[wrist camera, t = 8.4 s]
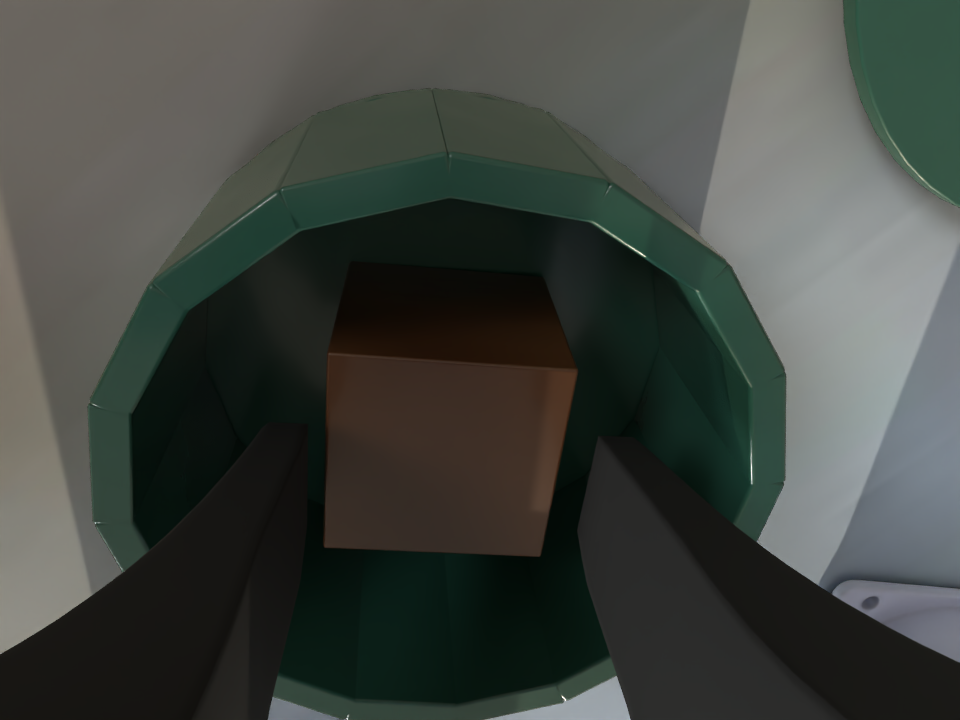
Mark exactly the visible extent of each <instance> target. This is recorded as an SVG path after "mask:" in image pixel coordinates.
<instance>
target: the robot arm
mask: <svg viewBox="0 0 960 720" xmlns="http://www.w3.org/2000/svg"><path fill="white" fill-rule="evenodd" d="M307 491H308V424H300V423H275V422H269V423H267V424H266V425H265V426H263V427H262V428H261V430H260V431H259V432H258V434H257V435H256V436H255V438H254V439H253V440H252V442H251V443H250V444H249V446H248V447H247V448H246V450H245V451H244V452H243V453H242V455H241V456H240V457H239V458H238V459H237V461H236V462H235V463H234V464H233V465H232V467H231V468H230V469H229V470H228V471H227V473H226V474H225V475H224V476H223V477H222V478H221V479H220V480H219V481H218V483H217V484H216V485H215V486H214V487H213V488H212V489H211V490H210V491H209V493H208V494H207V495H206V496H205V497H204V498H203V499H202V500H201V501H200V502H199V503H198V504H197V505H196V506H195V507H194V508H193V509H192V510H191V511H190V512H189V513H188V514H187V515H186V516H185V517H184V518H183V519H182V520H181V521H180V522H179V523H178V524H177V525H176V526H175V527H174V528H173V529H172V530H171V531H170V532H169V533H168V534H167V535H166V536H165V537H164V538H163V539H161V540H160V541H159V542H158V543H157V544H156V545H155V546H154V547H152V548H151V549H150V550H149V551H148V552H147V553H146V554H144V555H143V556H142V557H141V558H140V559H139V560H137V561H136V562H135V563H134V564H132V565H131V566H130V567H129V568H128V569H126V570H125V571H124V572H123V573H121V574H120V575H119V576H118V577H116V578H115V579H114V580H113V581H111V582H110V583H109V584H107V585H106V586H104V587H103V588H102V589H100V590H99V591H98V592H96V593H95V594H94V595H92V596H91V597H89V598H88V599H86V600H85V601H84V602H82V603H81V604H79V605H78V606H76V607H75V608H74V609H72V610H71V611H69V612H68V613H66V614H65V615H63V616H62V617H61V618H59V619H58V620H56V621H55V622H53V623H51V624H50V625H48V626H47V627H45V628H44V629H42V630H40V631H39V632H37V633H35V634H34V635H32V636H31V637H29V638H27V639H26V640H24V641H22V642H21V643H19V644H17V645H16V646H14V647H12V648H10V649H9V650H7V651H5V652H4V653H2V654H0V720H268V715H269V710H270V705H271V701H272V697H273V693H274V689H275V684H276V680H277V676H278V672H279V668H280V664H281V660H282V655H283V651H284V647H285V643H286V639H287V635H288V631H289V627H290V622H291V618H292V614H293V610H294V606H295V602H296V597H297V593H298V589H299V585H300V580H301V572H302V564H303V556H304V548H305V539H306V531H307ZM577 533H578V538H579V544H580V550H581V556H582V561H583V566H584V572H585V577H586V582H587V586H588V589H589V592H590V595H591V598H592V601H593V605H594V608H595V611H596V614H597V617H598V620H599V623H600V626H601V629H602V632H603V635H604V638H605V641H606V644H607V647H608V650H609V653H610V656H611V659H612V662H613V665H614V668H615V671H616V674H617V677H618V680H619V683H620V686H621V689H622V692H623V695H624V698H625V701H626V704H627V708H628V711H629V715H630V718H631V720H960V589H956V588H945V587H933V586H922V585H911V584H899V583H888V582H876V581H865V580H848V581H845V582H842V583H841V584H839V585H838V586H837V587H836V588H835V589H834V591H833V592H832V594H831V593H829V592H827V591H826V590H824V589H823V588H821V587H820V586H818V585H817V584H815V583H814V582H812V581H811V580H809V579H808V578H806V577H805V576H803V575H802V574H800V573H799V572H797V571H796V570H794V569H793V568H791V567H790V566H788V565H787V564H785V563H784V562H782V561H781V560H780V559H778V558H777V557H775V556H774V555H773V554H771V553H770V552H769V551H767V550H766V549H765V548H763V547H762V546H761V545H759V544H758V543H757V542H756V541H754V540H753V539H752V538H750V537H749V536H748V535H747V534H745V533H744V532H743V531H741V530H740V529H739V528H738V527H736V526H735V525H734V524H733V523H731V522H730V521H729V520H728V519H727V518H725V517H724V516H723V515H722V514H721V513H719V512H718V511H717V510H716V509H715V508H713V507H712V506H711V505H710V504H709V503H708V502H707V501H705V500H704V499H703V498H702V497H701V496H700V495H698V494H697V493H696V492H695V491H694V490H693V489H692V488H691V487H689V486H688V485H687V484H686V483H685V482H684V481H683V480H682V479H681V478H679V477H678V476H677V475H676V474H675V473H674V472H673V471H672V470H671V469H669V468H668V467H667V466H666V465H665V464H664V463H663V462H662V461H661V460H660V459H658V458H657V457H656V456H655V455H654V454H653V453H652V452H651V451H649V450H648V449H647V448H646V447H645V446H644V445H643V444H641V443H640V442H639V441H638V440H636V439H635V438H634V437H618V436H598V439H597V444H596V448H595V453H594V457H593V462H592V466H591V471H590V475H589V479H588V484H587V488H586V493H585V497H584V502H583V506H582V511H581V515H580V520H579V524H578V529H577Z"/></svg>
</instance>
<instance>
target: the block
mask: <svg viewBox="0 0 960 720" xmlns="http://www.w3.org/2000/svg"><path fill="white" fill-rule="evenodd" d="M577 375H578V369H577V366H576V363H575V361H574V358H573V355H572V352H571V350H570V347H569V344H568V342H567V339H566V336H565V333H564V331H563V328H562V325H561V322H560V320H559V317H558V314H557V312H556V309H555V306H554V303H553V301H552V298H551V295H550V292H549V290H548V287H547V284H546V281H545V279H544V278H543V277H536V276H524V275H512V274H500V273H488V272H476V271H464V270H452V269H440V268H428V267H416V266H404V265H392V264H380V263H368V262H356V261H351V262H350V263H349V266H348V270H347V274H346V279H345V283H344V287H343V291H342V295H341V299H340V303H339V307H338V311H337V315H336V319H335V323H334V327H333V331H332V335H331V339H330V344H329V348H328V352H327V373H326V422H325V470H324V519H323V546H324V548H336V549H360V550H384V551H408V552H432V553H456V554H480V555H505V556H529V557H540V556H541V555H542V550H543V545H544V540H545V535H546V530H547V525H548V520H549V515H550V510H551V505H552V500H553V495H554V490H555V485H556V480H557V475H558V470H559V465H560V460H561V455H562V450H563V445H564V440H565V435H566V430H567V425H568V420H569V415H570V410H571V405H572V400H573V395H574V390H575V385H576V380H577Z"/></svg>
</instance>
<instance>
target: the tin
mask: <svg viewBox="0 0 960 720" xmlns="http://www.w3.org/2000/svg"><path fill="white" fill-rule="evenodd" d="M351 261H356V262H368V263H380V264H392V265H404V266H416V267H428V268H440V269H452V270H464V271H476V272H488V273H500V274H512V275H524V276H536V277H543V278H544V279H545V281H546V284H547V287H548V290H549V292H550V295H551V298H552V301H553V303H554V306H555V309H556V312H557V314H558V317H559V320H560V322H561V325H562V328H563V331H564V333H565V336H566V339H567V342H568V344H569V347H570V350H571V352H572V355H573V358H574V361H575V363H576V366H577V369H578V375H577V380H576V385H575V390H574V395H573V400H572V405H571V410H570V415H569V420H568V425H567V430H566V435H565V440H564V445H563V450H562V455H561V460H560V465H559V470H558V475H557V480H556V485H555V490H554V495H553V500H552V505H551V510H550V515H549V520H548V525H547V530H546V535H545V540H544V545H543V550H542V555H541V556H540V557H529V556H505V555H480V554H456V553H432V552H408V551H384V550H360V549H336V548H324V546H323V519H324V470H325V422H326V373H327V352H328V348H329V344H330V339H331V335H332V331H333V327H334V323H335V319H336V315H337V311H338V307H339V303H340V299H341V295H342V291H343V287H344V283H345V279H346V274H347V270H348V266H349V263H350V262H351ZM87 407H88V429H89V451H90V473H91V495H92V517H93V522H94V523H95V526H96V528H97V530H98V532H99V533H100V535H101V537H102V538H103V540H104V542H105V544H106V545H107V547H108V549H109V550H110V552H111V554H112V555H113V557H114V559H115V561H116V562H117V564H118V566H119V567H120V569H121V571H122V572H124V571H125V570H126V569H128V568H129V567H130V566H131V565H132V564H134V563H135V562H136V561H137V560H139V559H140V558H141V557H142V556H143V555H144V554H146V553H147V552H148V551H149V550H150V549H151V548H152V547H154V546H155V545H156V544H157V543H158V542H159V541H160V540H161V539H163V538H164V537H165V536H166V535H167V534H168V533H169V532H170V531H171V530H172V529H173V528H174V527H175V526H176V525H177V524H178V523H179V522H180V521H181V520H182V519H183V518H184V517H185V516H186V515H187V514H188V513H189V512H190V511H191V510H192V509H193V508H194V507H195V506H196V505H197V504H198V503H199V502H200V501H201V500H202V499H203V498H204V497H205V496H206V495H207V494H208V493H209V491H210V490H211V489H212V488H213V487H214V486H215V485H216V484H217V483H218V481H219V480H220V479H221V478H222V477H223V476H224V475H225V474H226V473H227V471H228V470H229V469H230V468H231V467H232V465H233V464H234V463H235V462H236V461H237V459H238V458H239V457H240V456H241V455H242V453H243V452H244V451H245V450H246V448H247V447H248V446H249V444H250V443H251V442H252V440H253V439H254V438H255V436H256V435H257V434H258V432H259V431H260V430H261V428H262V427H263V426H265V425H266V424H267V423H269V422H275V423H300V424H308V491H307V531H306V539H305V548H304V556H303V564H302V572H301V580H300V585H299V589H298V593H297V597H296V602H295V606H294V610H293V614H292V618H291V622H290V627H289V631H288V635H287V639H286V643H285V647H284V651H283V655H282V660H281V664H280V668H279V672H278V676H277V680H276V684H275V689H274V693H273V697H275V698H278V699H282V700H285V701H288V702H291V703H294V704H297V705H300V706H303V707H306V708H309V709H312V710H315V711H318V712H321V713H324V714H327V715H330V716H333V717H336V718H339V719H346V718H347V720H485V719H490V718H495V717H499V716H504V715H509V714H513V713H518V712H523V711H527V710H532V709H537V708H541V707H546V706H551V705H555V704H560V703H563V702H564V700H565V701H568V700H570V699H572V698H574V697H576V696H578V695H580V694H582V693H584V692H586V691H588V690H590V689H592V688H593V687H595V686H597V685H599V684H601V683H603V682H605V681H607V680H609V679H611V678H613V677H615V676H617V674H616V671H615V668H614V665H613V662H612V659H611V656H610V653H609V650H608V647H607V644H606V641H605V638H604V635H603V632H602V629H601V626H600V623H599V620H598V617H597V614H596V611H595V608H594V605H593V601H592V598H591V595H590V592H589V589H588V586H587V582H586V577H585V572H584V566H583V561H582V556H581V550H580V544H579V538H578V533H577V529H578V524H579V520H580V515H581V511H582V506H583V502H584V497H585V493H586V488H587V484H588V479H589V475H590V471H591V466H592V462H593V457H594V453H595V448H596V444H597V439H598V436H618V437H634V438H635V439H636V440H638V441H639V442H640V443H641V444H643V445H644V446H645V447H646V448H647V449H648V450H649V451H651V452H652V453H653V454H654V455H655V456H656V457H657V458H658V459H660V460H661V461H662V462H663V463H664V464H665V465H666V466H667V467H668V468H669V469H671V470H672V471H673V472H674V473H675V474H676V475H677V476H678V477H679V478H681V479H682V480H683V481H684V482H685V483H686V484H687V485H688V486H689V487H691V488H692V489H693V490H694V491H695V492H696V493H697V494H698V495H700V496H701V497H702V498H703V499H704V500H705V501H707V502H708V503H709V504H710V505H711V506H712V507H713V508H715V509H716V510H717V511H718V512H719V513H721V514H722V515H723V516H724V517H725V518H727V519H728V520H729V521H730V522H731V523H733V524H734V525H735V526H736V527H738V528H739V529H740V530H741V531H743V532H744V533H745V534H747V535H748V536H749V537H750V538H752V539H753V540H754V541H756V542H757V540H758V538H759V536H760V534H761V532H762V530H763V528H764V526H765V523H766V521H767V519H768V517H769V515H770V513H771V511H772V509H773V507H774V505H775V503H776V501H777V499H778V496H779V494H780V492H781V490H782V488H783V486H784V482H783V481H785V453H786V374H785V369H784V366H783V364H782V362H781V360H780V358H779V356H778V354H777V352H776V350H775V349H774V347H773V345H772V343H771V341H770V339H769V337H768V335H767V333H766V331H765V330H764V328H763V326H762V324H761V322H760V320H759V318H758V316H757V314H756V312H755V310H754V309H753V307H752V305H751V303H750V301H749V299H748V297H747V295H746V293H745V291H744V290H743V288H742V286H741V284H740V282H739V280H738V278H737V276H736V274H735V272H734V270H733V269H732V267H731V266H730V265H729V264H728V263H727V262H726V260H725V259H724V258H723V257H722V256H721V255H720V254H719V253H718V252H717V251H716V250H715V249H714V248H713V247H711V246H710V245H709V244H708V243H707V242H706V241H705V240H704V239H703V238H702V237H701V236H700V235H699V234H698V233H697V232H696V231H694V230H693V229H692V228H691V227H690V226H689V225H688V224H687V223H686V222H685V221H684V220H683V219H682V218H681V217H680V216H679V215H678V214H676V213H675V212H674V211H673V210H672V209H671V208H670V207H669V206H668V205H667V204H666V203H665V202H664V201H663V200H662V199H661V198H659V197H658V196H657V195H656V194H655V193H654V192H653V191H652V190H651V189H650V188H649V187H648V186H647V185H646V184H645V183H644V182H643V181H641V180H640V179H639V178H638V177H637V176H636V175H635V174H634V173H633V172H632V171H631V170H630V169H628V168H627V167H625V166H624V165H623V164H621V163H620V162H618V161H617V160H616V159H614V158H613V157H611V156H610V155H608V154H607V153H606V152H604V151H603V150H601V149H600V148H599V147H597V146H596V145H595V144H594V143H593V142H591V141H590V140H589V139H588V138H587V137H585V136H584V135H582V134H581V133H579V132H577V131H576V130H574V129H572V128H571V127H569V126H568V125H566V124H565V123H563V122H562V121H561V120H559V119H558V118H556V117H555V116H554V115H552V114H551V113H549V112H545V111H544V110H542V109H538V108H533V107H528V106H526V105H524V104H521V103H517V102H513V101H510V100H506V99H502V98H499V97H495V96H491V95H488V94H481V93H473V92H465V91H457V90H450V89H448V90H442V89H437V88H435V89H431V88H426V89H422V90H408V91H401V92H394V93H388V94H381V95H374V96H371V97H368V98H364V99H361V100H357V101H354V102H351V103H347V104H344V105H340V106H337V107H335V108H333V109H331V110H327V111H322V112H318V113H317V114H316V115H313V116H311V117H310V118H308V119H307V120H306V121H304V122H303V123H301V124H300V125H298V126H297V127H295V128H293V129H292V130H290V131H289V132H287V133H286V134H284V135H282V136H281V137H279V138H278V139H276V140H275V141H273V142H272V143H271V144H270V145H269V146H267V147H266V148H265V149H264V150H263V151H262V152H260V153H259V154H258V155H257V156H256V157H255V158H253V159H252V160H251V161H250V162H249V163H248V164H247V165H245V166H244V167H243V168H241V169H240V170H239V171H237V172H236V173H234V174H233V175H232V176H230V177H229V178H228V179H227V180H226V182H225V183H224V184H223V185H222V186H221V187H220V189H219V190H218V191H217V193H216V194H215V195H214V197H213V198H212V199H211V201H210V202H209V203H208V205H207V206H206V208H205V209H204V210H203V212H202V213H201V214H200V216H199V217H198V218H197V220H196V221H195V222H194V224H193V225H192V226H191V228H190V229H189V230H188V232H187V233H186V234H185V236H184V237H183V238H182V240H181V241H180V242H179V244H178V245H177V247H176V248H175V249H174V251H173V252H172V253H171V255H170V256H169V257H168V259H167V260H166V261H165V263H164V264H163V265H162V267H161V268H160V269H159V271H158V272H157V273H156V275H155V276H154V277H153V279H152V280H151V281H150V283H149V284H148V286H147V287H146V289H145V291H144V293H143V295H142V297H141V299H140V301H139V303H138V305H137V307H136V309H135V311H134V313H133V315H132V317H131V319H130V321H129V323H128V325H127V327H126V329H125V331H124V333H123V335H122V337H121V338H120V340H119V342H118V344H117V346H116V348H115V350H114V352H113V354H112V356H111V358H110V360H109V362H108V364H107V366H106V368H105V370H104V372H103V374H102V376H101V378H100V380H99V382H98V384H97V386H96V388H95V389H94V391H93V393H92V395H91V397H90V403H89V404H88V406H87Z"/></svg>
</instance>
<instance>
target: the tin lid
mask: <svg viewBox="0 0 960 720" xmlns="http://www.w3.org/2000/svg"><path fill="white" fill-rule="evenodd" d="M843 9H844V27H845V34H846V41H847V48H848V55H849V62H850V66H851V69H852V72H853V76H854V79H855V83H856V86H857V90H858V93H859V96H860V100H861V102H862V104H863V106H864V108H865V111H866V113H867V115H868V117H869V119H870V121H871V123H872V126H873V128H874V130H875V132H876V133H877V135H878V136H879V138H880V139H881V141H882V142H883V144H884V145H885V147H886V148H887V149H888V151H889V152H890V154H891V155H892V157H893V158H894V159H895V160H896V161H897V162H898V164H899V165H900V166H901V167H902V168H903V169H904V170H905V171H906V172H907V173H908V174H909V175H910V176H911V177H912V178H913V179H914V180H915V181H916V182H918V183H919V184H921V185H922V186H923V187H925V188H926V189H928V190H929V191H930V192H932V193H933V194H935V195H936V196H938V197H939V198H940V199H942V200H944V201H946V202H949V203H951V204H953V205H955V206H957V207H959V208H960V0H843Z"/></svg>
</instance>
